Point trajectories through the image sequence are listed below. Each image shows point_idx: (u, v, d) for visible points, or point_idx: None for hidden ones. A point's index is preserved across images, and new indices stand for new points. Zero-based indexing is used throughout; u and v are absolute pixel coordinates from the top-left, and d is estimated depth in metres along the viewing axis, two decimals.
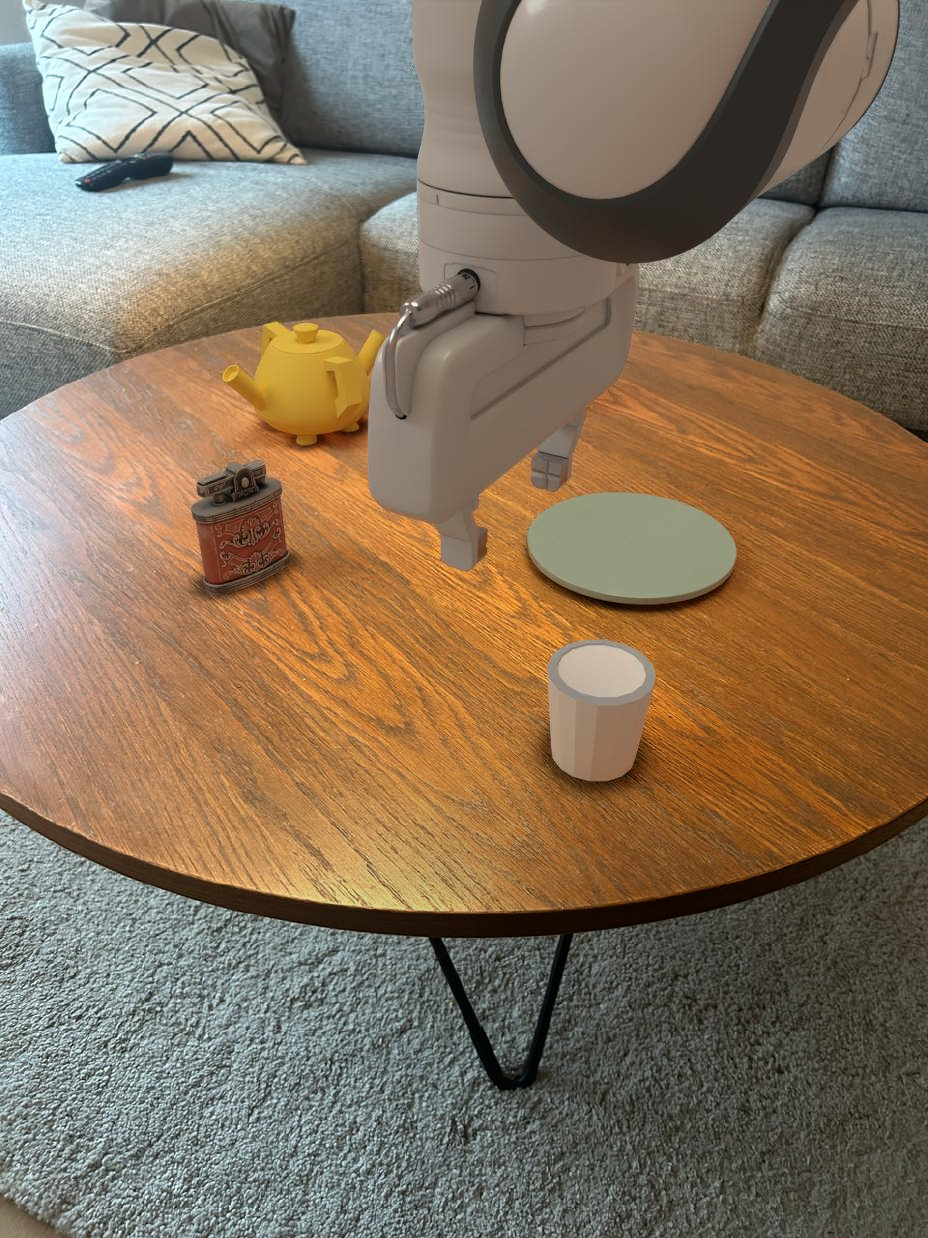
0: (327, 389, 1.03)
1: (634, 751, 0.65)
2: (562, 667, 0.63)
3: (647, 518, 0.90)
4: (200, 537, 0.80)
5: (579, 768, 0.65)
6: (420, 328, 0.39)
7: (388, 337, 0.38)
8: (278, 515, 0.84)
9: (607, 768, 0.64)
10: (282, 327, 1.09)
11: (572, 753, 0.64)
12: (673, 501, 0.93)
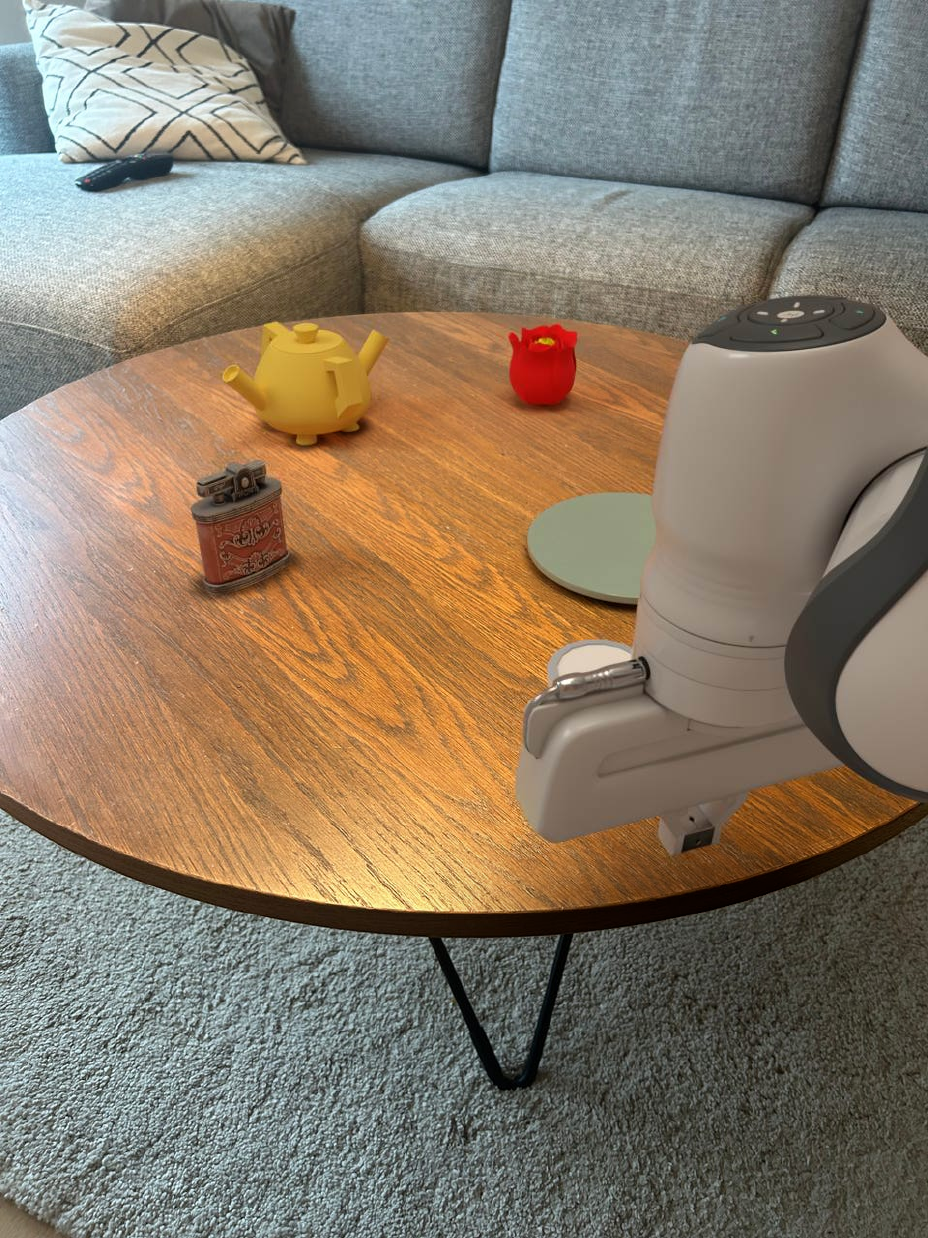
0: (327, 389, 1.03)
1: None
2: (562, 667, 0.63)
3: (647, 518, 0.90)
4: (200, 537, 0.80)
5: None
6: (565, 700, 0.46)
7: (531, 701, 0.46)
8: (278, 515, 0.84)
9: None
10: (282, 327, 1.09)
11: None
12: None
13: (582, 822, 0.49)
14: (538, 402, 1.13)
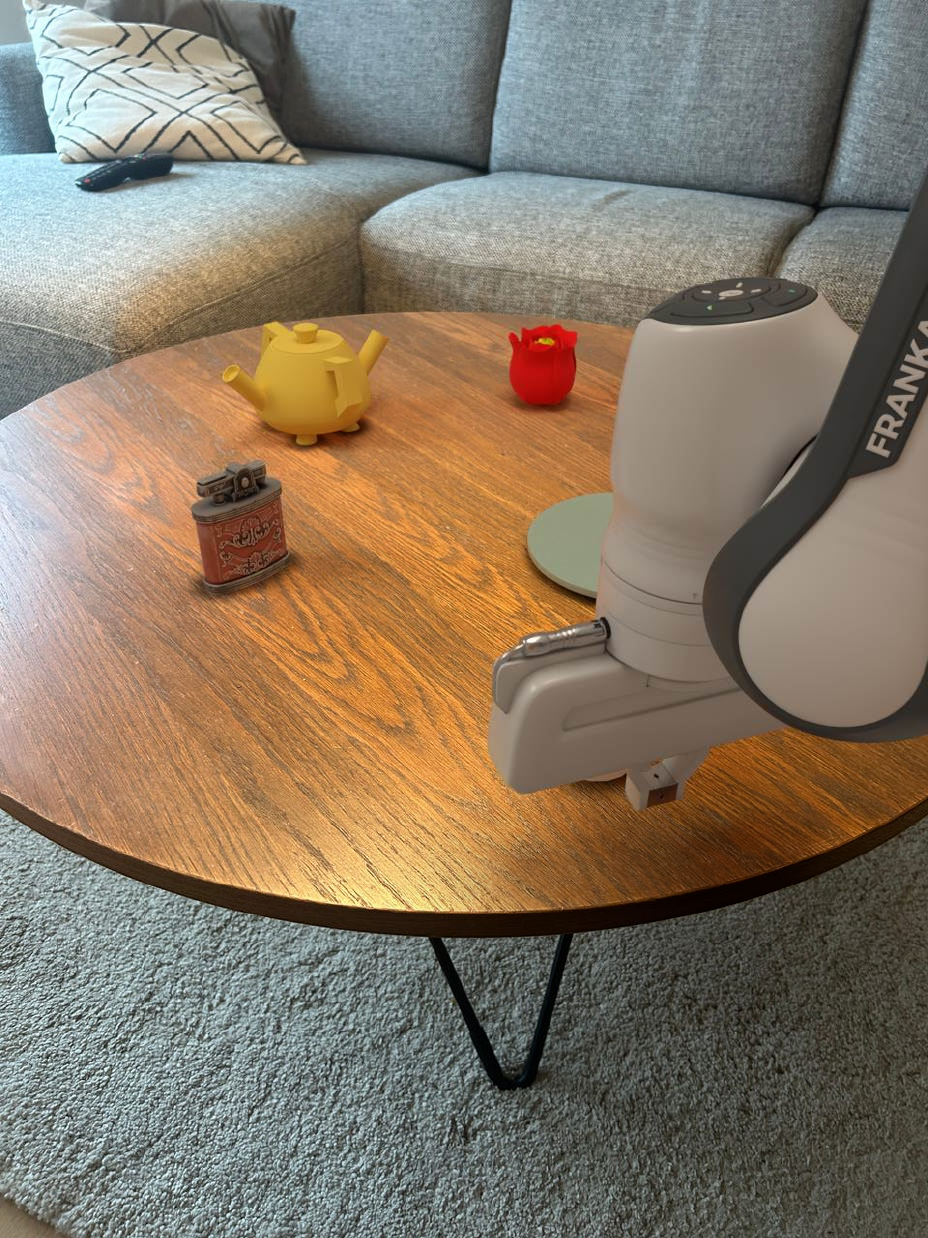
0: (327, 389, 1.03)
1: None
2: None
3: None
4: (200, 537, 0.80)
5: None
6: (530, 658, 0.49)
7: (499, 658, 0.49)
8: (278, 515, 0.84)
9: None
10: (282, 327, 1.09)
11: None
12: None
13: (549, 774, 0.52)
14: (538, 402, 1.13)
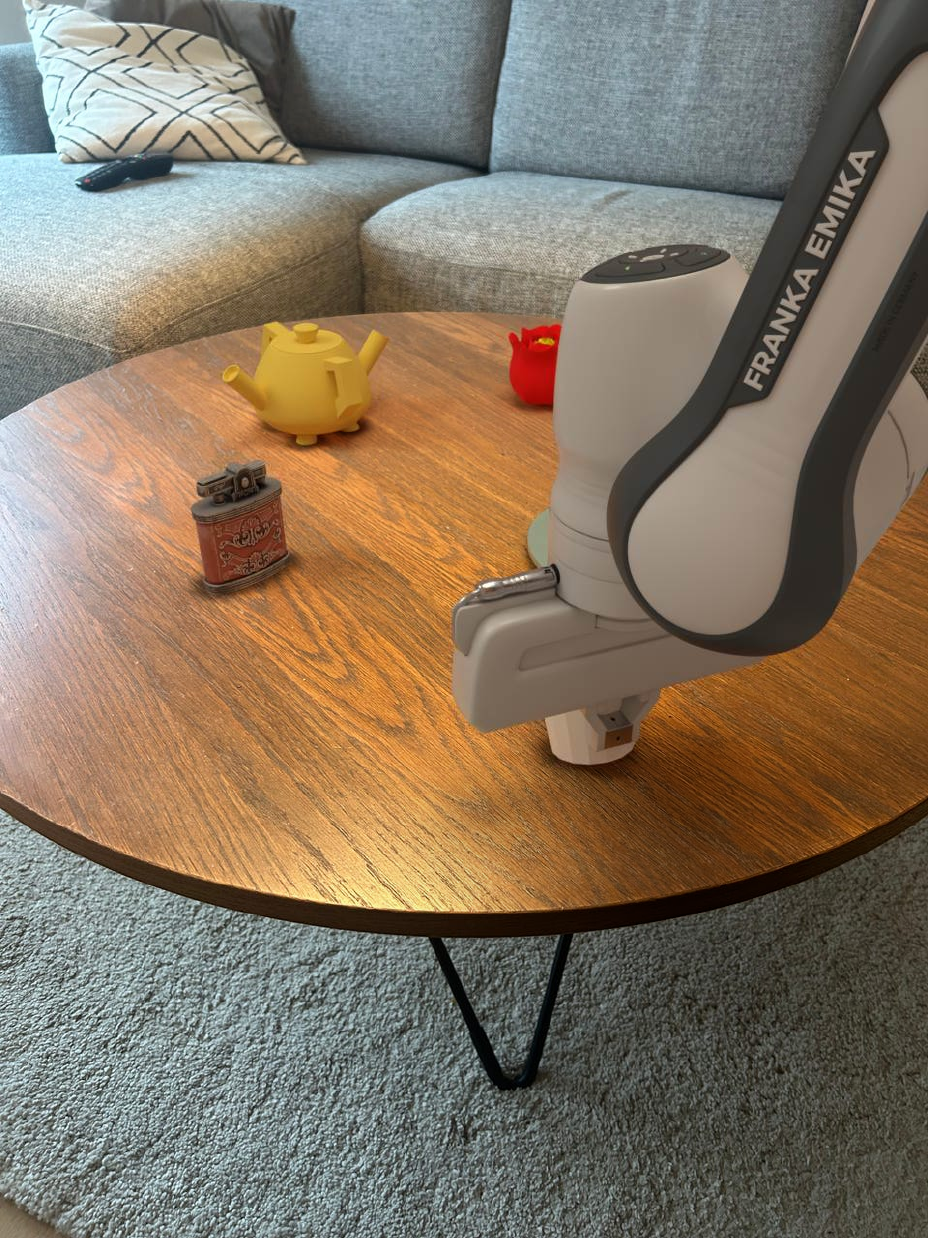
0: (327, 389, 1.03)
1: None
2: None
3: None
4: (200, 537, 0.80)
5: (576, 751, 0.64)
6: (486, 602, 0.54)
7: (457, 603, 0.54)
8: (278, 515, 0.84)
9: None
10: (282, 327, 1.09)
11: (566, 735, 0.64)
12: None
13: (508, 713, 0.56)
14: (538, 402, 1.13)
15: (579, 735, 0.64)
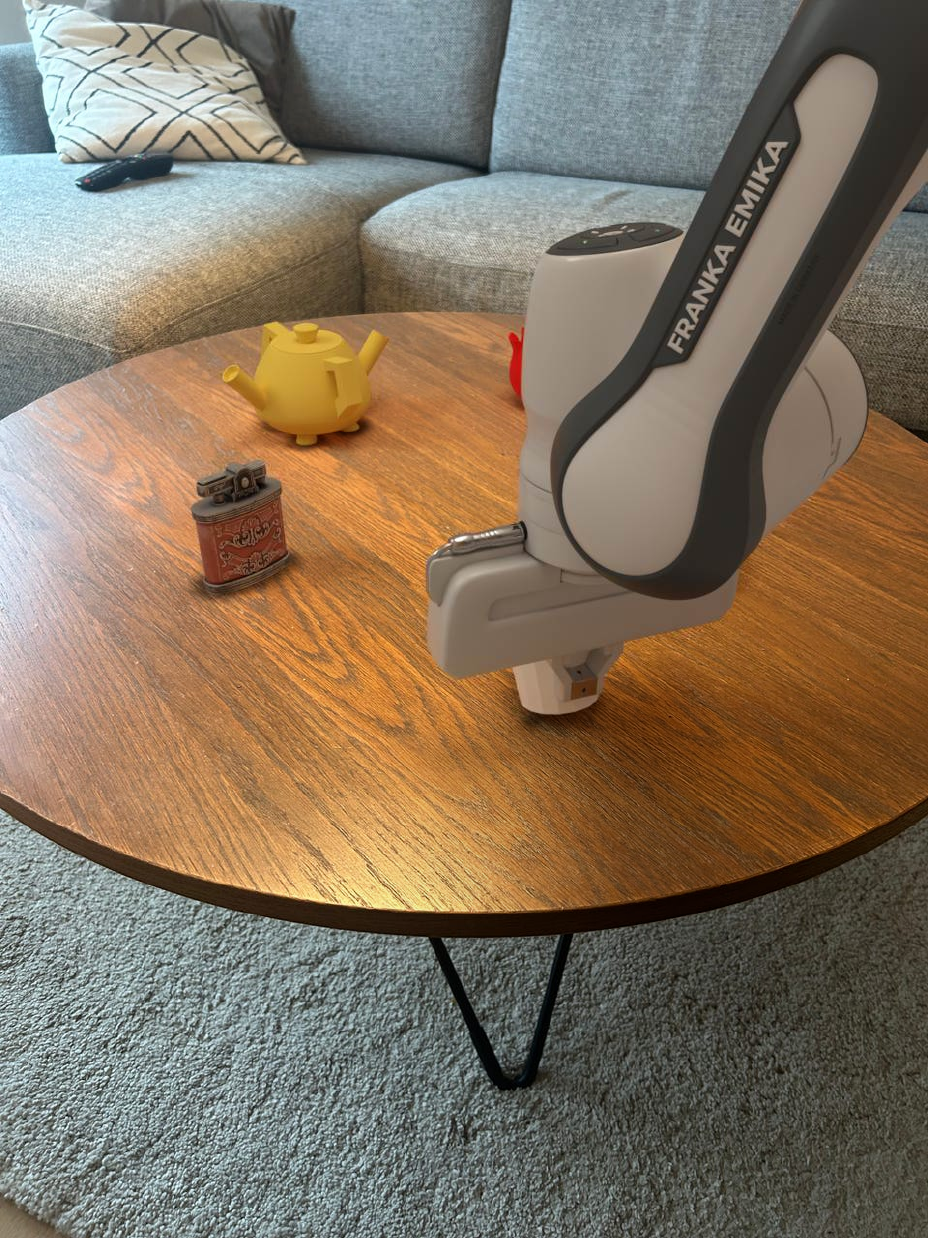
0: (327, 389, 1.03)
1: None
2: None
3: None
4: (200, 537, 0.80)
5: (546, 702, 0.68)
6: (458, 555, 0.58)
7: (431, 555, 0.58)
8: (278, 515, 0.84)
9: None
10: (282, 327, 1.09)
11: (537, 686, 0.68)
12: None
13: (478, 660, 0.60)
14: None
15: (549, 686, 0.67)
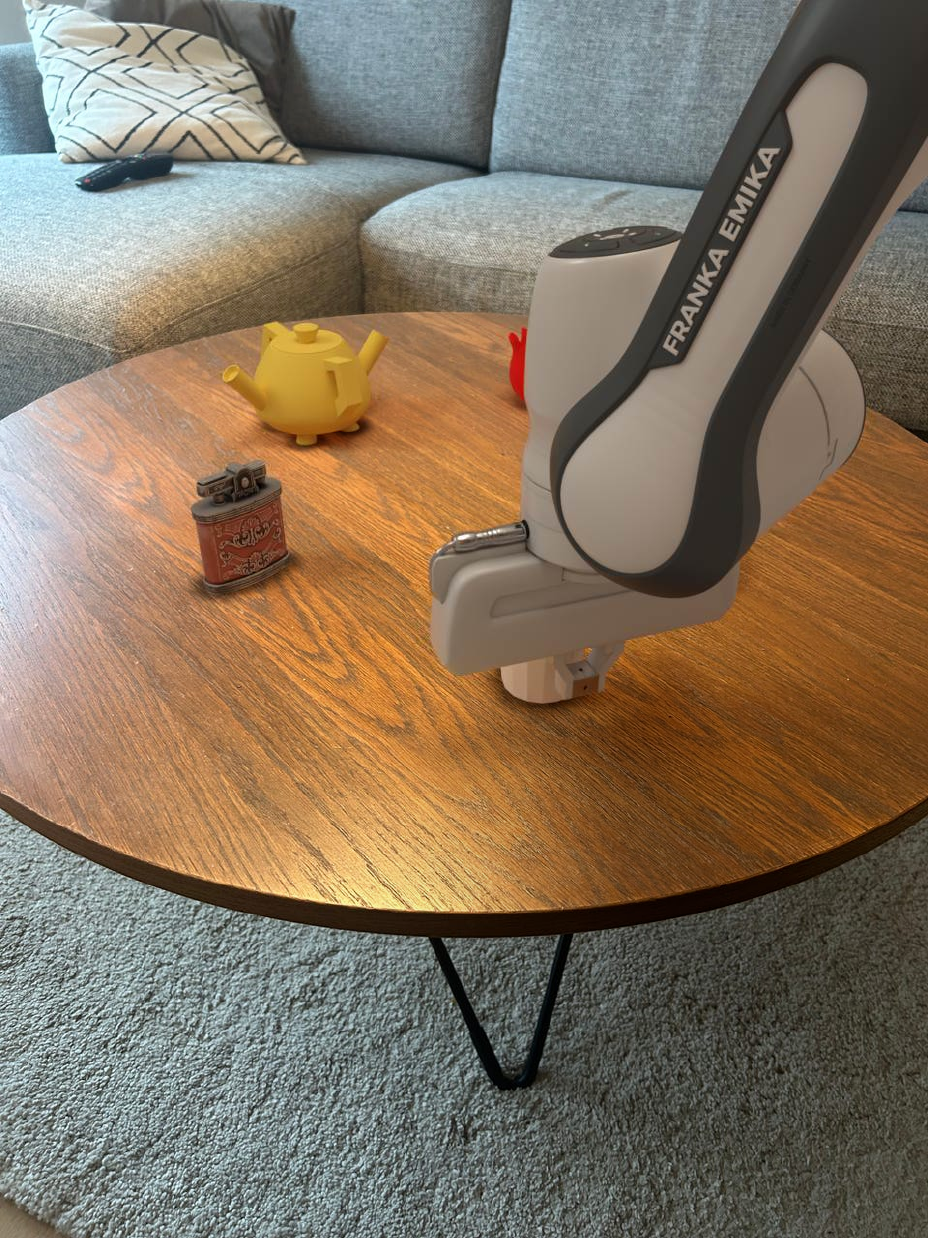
0: (327, 389, 1.03)
1: None
2: None
3: None
4: (200, 537, 0.80)
5: (532, 692, 0.71)
6: (461, 553, 0.58)
7: None
8: (278, 515, 0.84)
9: None
10: (282, 327, 1.09)
11: (525, 678, 0.70)
12: None
13: (481, 657, 0.61)
14: None
15: (537, 680, 0.70)
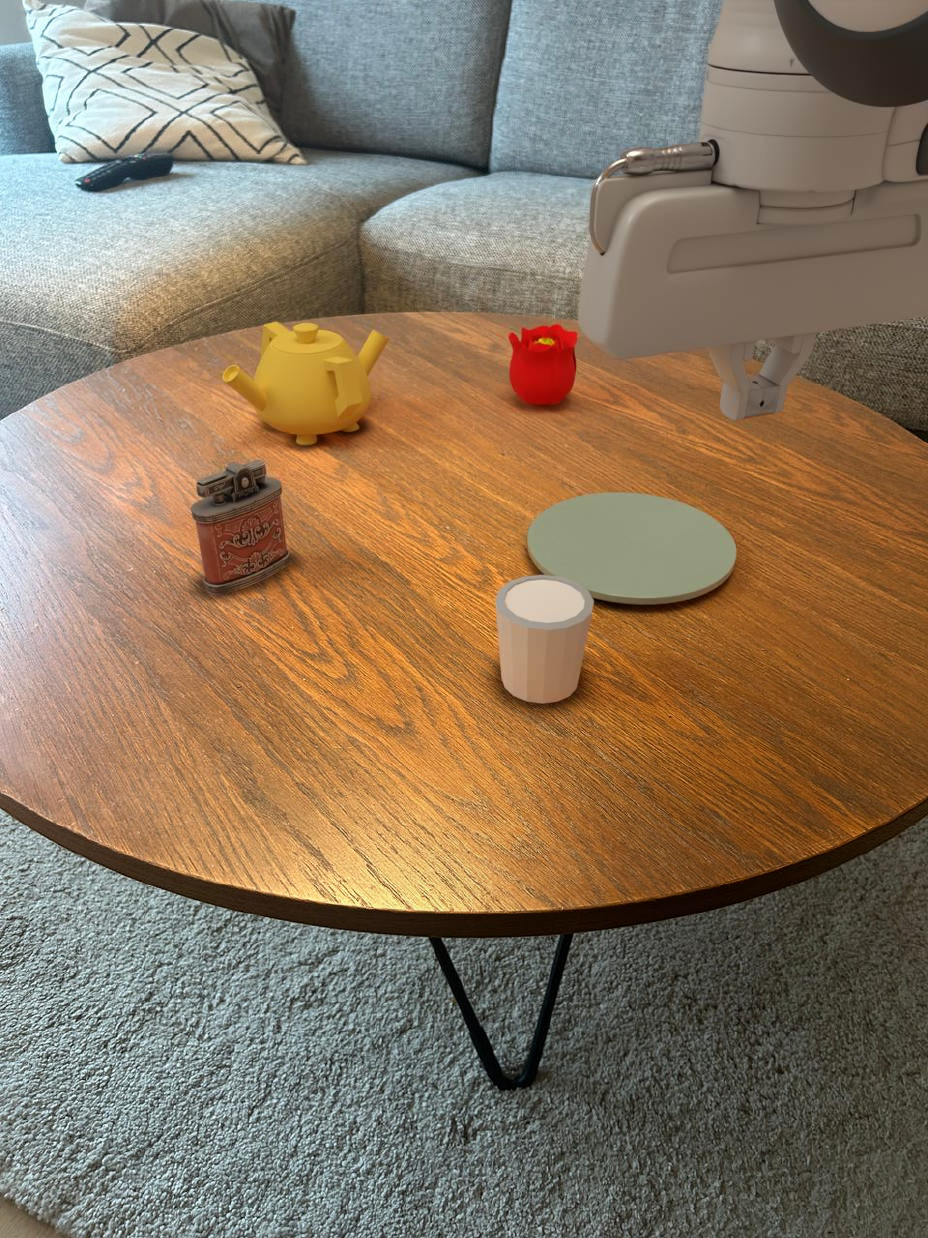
0: (327, 389, 1.03)
1: (578, 672, 0.72)
2: (509, 601, 0.70)
3: (647, 518, 0.90)
4: (200, 537, 0.80)
5: (532, 692, 0.71)
6: (633, 176, 0.45)
7: (599, 177, 0.45)
8: (278, 515, 0.84)
9: (557, 689, 0.71)
10: (282, 327, 1.09)
11: (525, 678, 0.70)
12: (673, 501, 0.93)
13: (650, 332, 0.48)
14: (538, 402, 1.13)
15: (537, 680, 0.70)
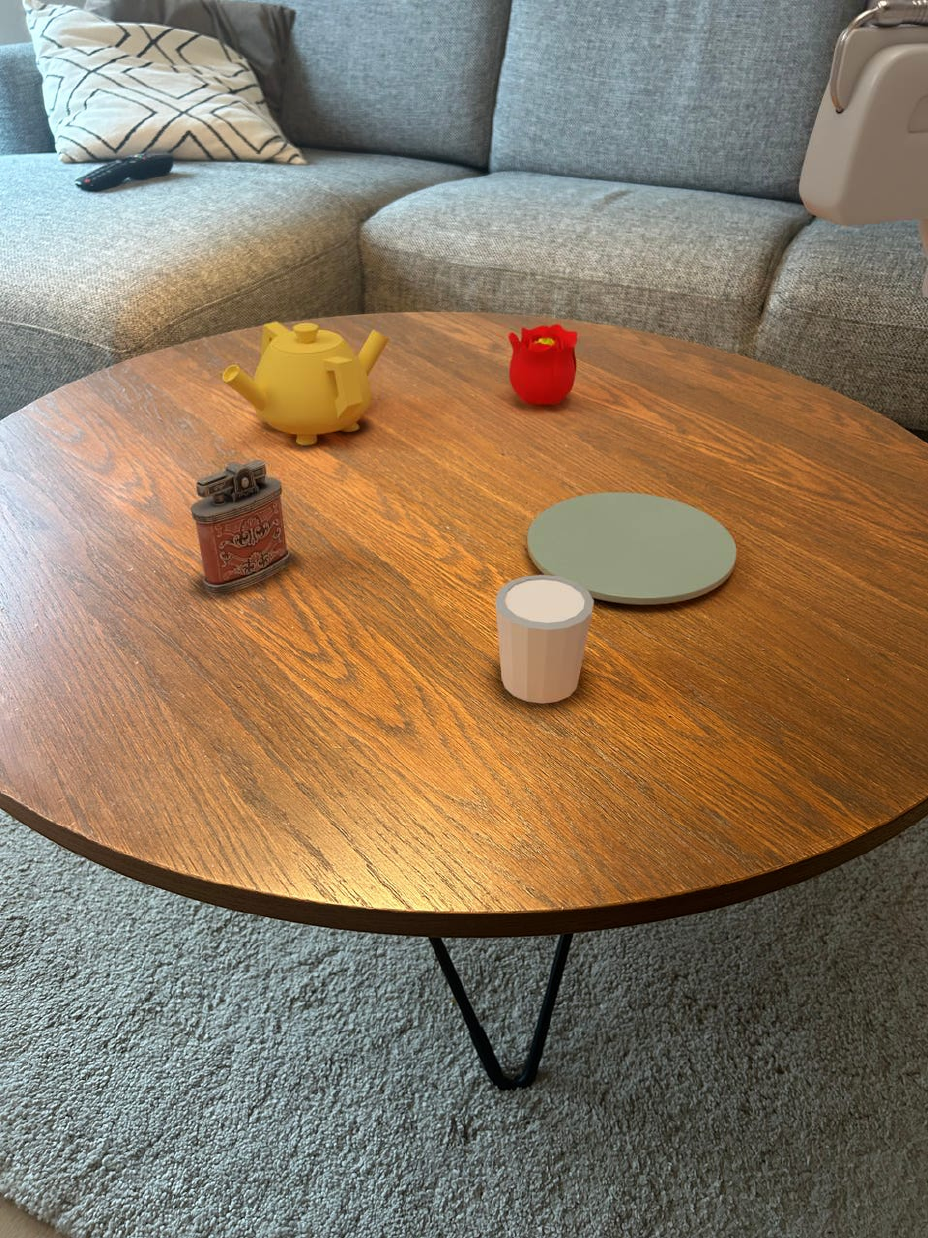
0: (327, 389, 1.03)
1: (578, 672, 0.72)
2: (509, 601, 0.70)
3: (647, 518, 0.90)
4: (200, 537, 0.80)
5: (532, 692, 0.71)
6: (881, 28, 0.44)
7: (846, 28, 0.44)
8: (278, 515, 0.84)
9: (557, 689, 0.71)
10: (282, 327, 1.09)
11: (525, 678, 0.70)
12: (673, 501, 0.93)
13: (881, 195, 0.47)
14: (538, 402, 1.13)
15: (537, 680, 0.70)
